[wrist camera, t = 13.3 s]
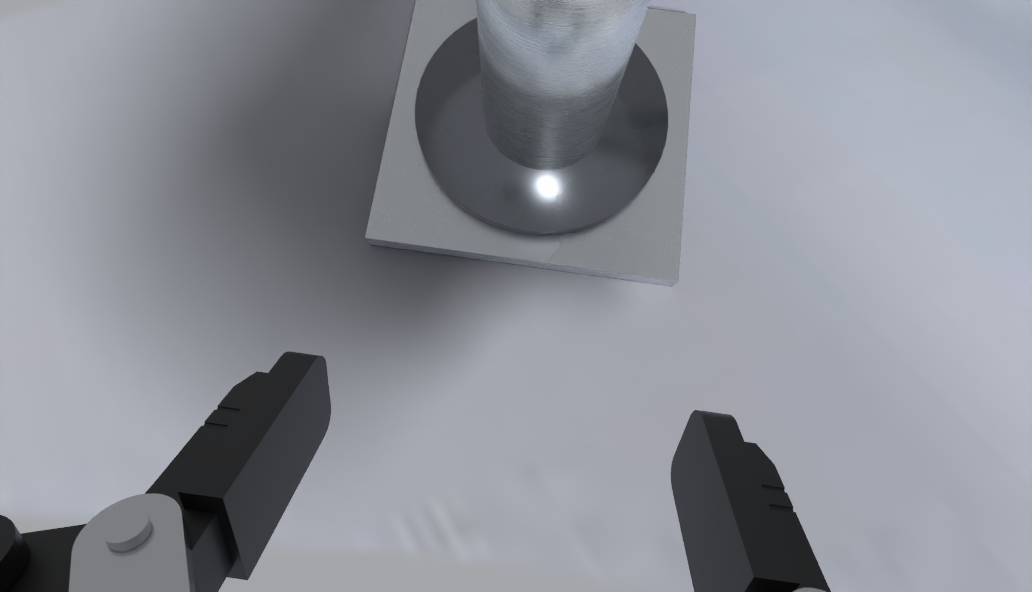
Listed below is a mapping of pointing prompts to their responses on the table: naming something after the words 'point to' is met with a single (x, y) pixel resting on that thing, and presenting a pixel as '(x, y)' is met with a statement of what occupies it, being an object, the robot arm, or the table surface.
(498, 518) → the table surface
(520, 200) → the flange
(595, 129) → the grey cylinder
